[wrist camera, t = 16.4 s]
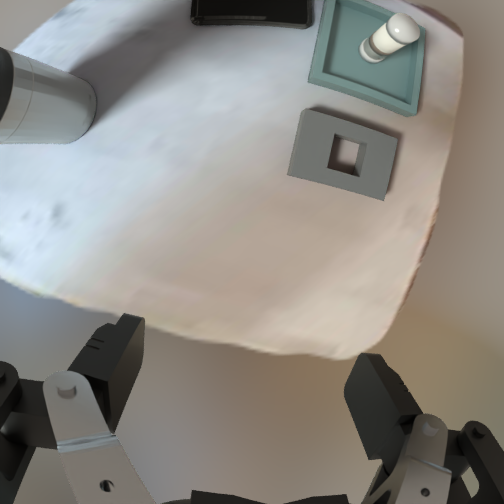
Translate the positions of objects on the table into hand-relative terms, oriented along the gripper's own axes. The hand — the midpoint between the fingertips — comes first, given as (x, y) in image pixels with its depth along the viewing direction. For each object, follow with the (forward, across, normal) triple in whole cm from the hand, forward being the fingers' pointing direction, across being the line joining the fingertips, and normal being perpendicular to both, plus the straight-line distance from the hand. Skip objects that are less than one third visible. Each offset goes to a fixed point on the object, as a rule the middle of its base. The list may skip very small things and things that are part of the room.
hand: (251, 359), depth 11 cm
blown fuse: (+28, -11, -25) cm, 39 cm away
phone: (+29, +5, -28) cm, 40 cm away
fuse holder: (+28, -10, -10) cm, 31 cm away
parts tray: (+28, -11, -25) cm, 39 cm away
